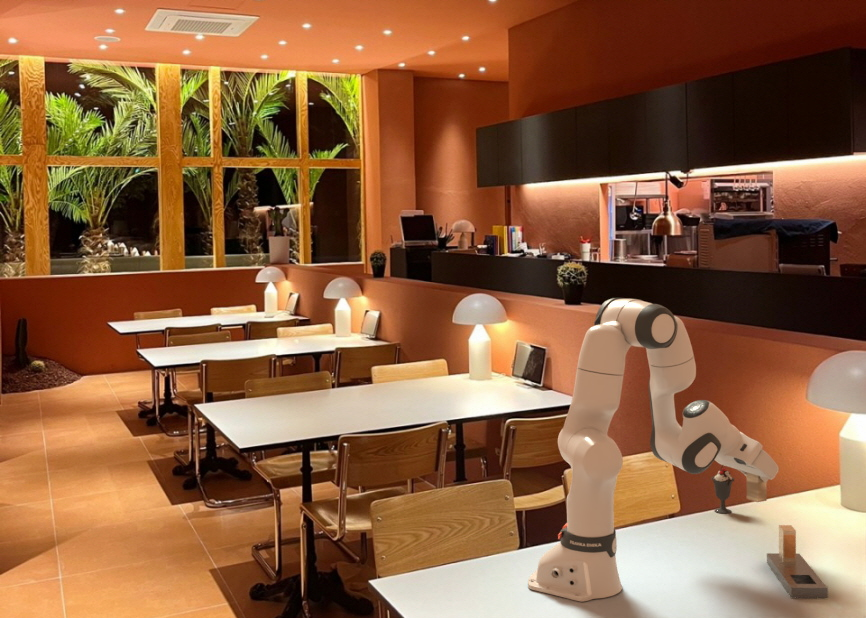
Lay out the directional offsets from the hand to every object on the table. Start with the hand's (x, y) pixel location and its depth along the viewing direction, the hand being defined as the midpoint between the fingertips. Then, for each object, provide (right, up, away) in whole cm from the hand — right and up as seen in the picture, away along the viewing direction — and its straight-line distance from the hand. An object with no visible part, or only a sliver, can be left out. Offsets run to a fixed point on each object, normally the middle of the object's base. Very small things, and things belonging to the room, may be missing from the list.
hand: (758, 477), depth 234 cm
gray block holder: (+2, -21, -21) cm, 29 cm away
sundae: (+2, -17, +33) cm, 37 cm away
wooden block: (0, -6, 0) cm, 6 cm away
